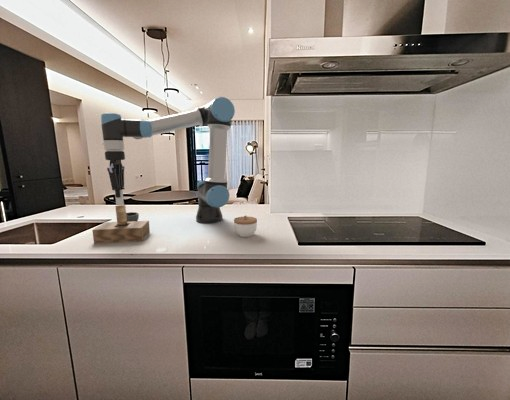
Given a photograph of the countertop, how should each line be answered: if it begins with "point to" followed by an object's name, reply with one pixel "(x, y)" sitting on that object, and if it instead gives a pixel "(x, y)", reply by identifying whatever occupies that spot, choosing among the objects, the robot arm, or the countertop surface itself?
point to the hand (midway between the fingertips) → (120, 204)
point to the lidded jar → (245, 226)
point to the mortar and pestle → (132, 216)
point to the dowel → (121, 215)
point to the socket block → (121, 232)
